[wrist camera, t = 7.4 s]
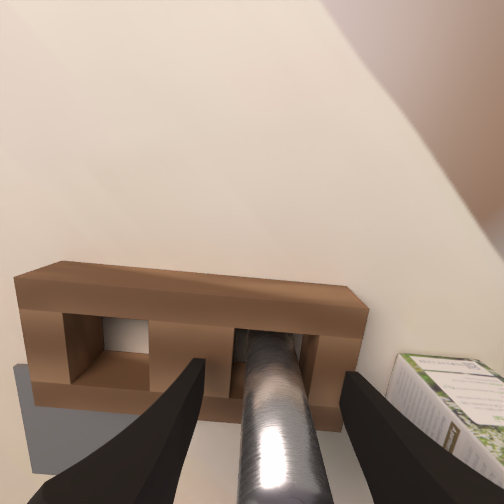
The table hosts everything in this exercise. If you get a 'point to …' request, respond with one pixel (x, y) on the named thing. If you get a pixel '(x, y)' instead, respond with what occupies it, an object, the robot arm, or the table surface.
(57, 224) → the table surface
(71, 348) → the walnut hole block
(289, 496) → the peg
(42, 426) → the rubber mat
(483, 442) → the syrup box
